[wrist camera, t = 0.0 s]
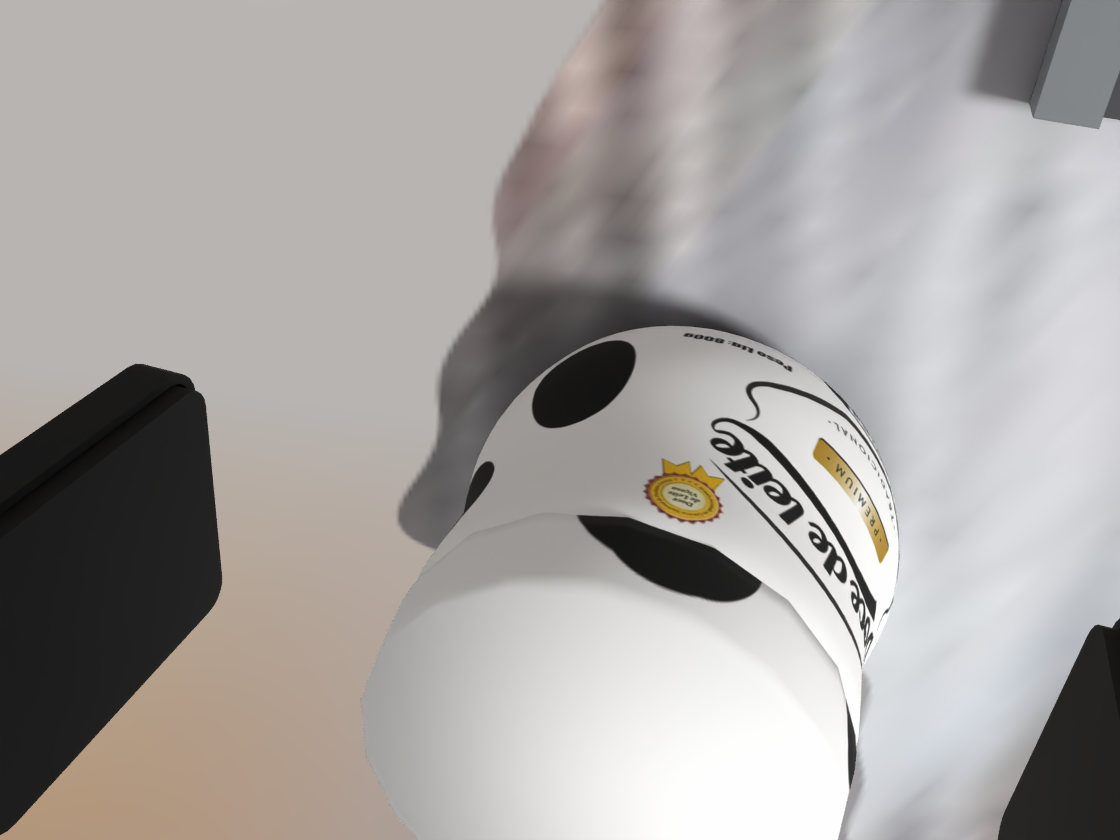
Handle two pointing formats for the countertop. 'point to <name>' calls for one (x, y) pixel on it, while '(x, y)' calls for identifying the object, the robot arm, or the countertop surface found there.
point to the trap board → (1081, 66)
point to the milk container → (645, 607)
